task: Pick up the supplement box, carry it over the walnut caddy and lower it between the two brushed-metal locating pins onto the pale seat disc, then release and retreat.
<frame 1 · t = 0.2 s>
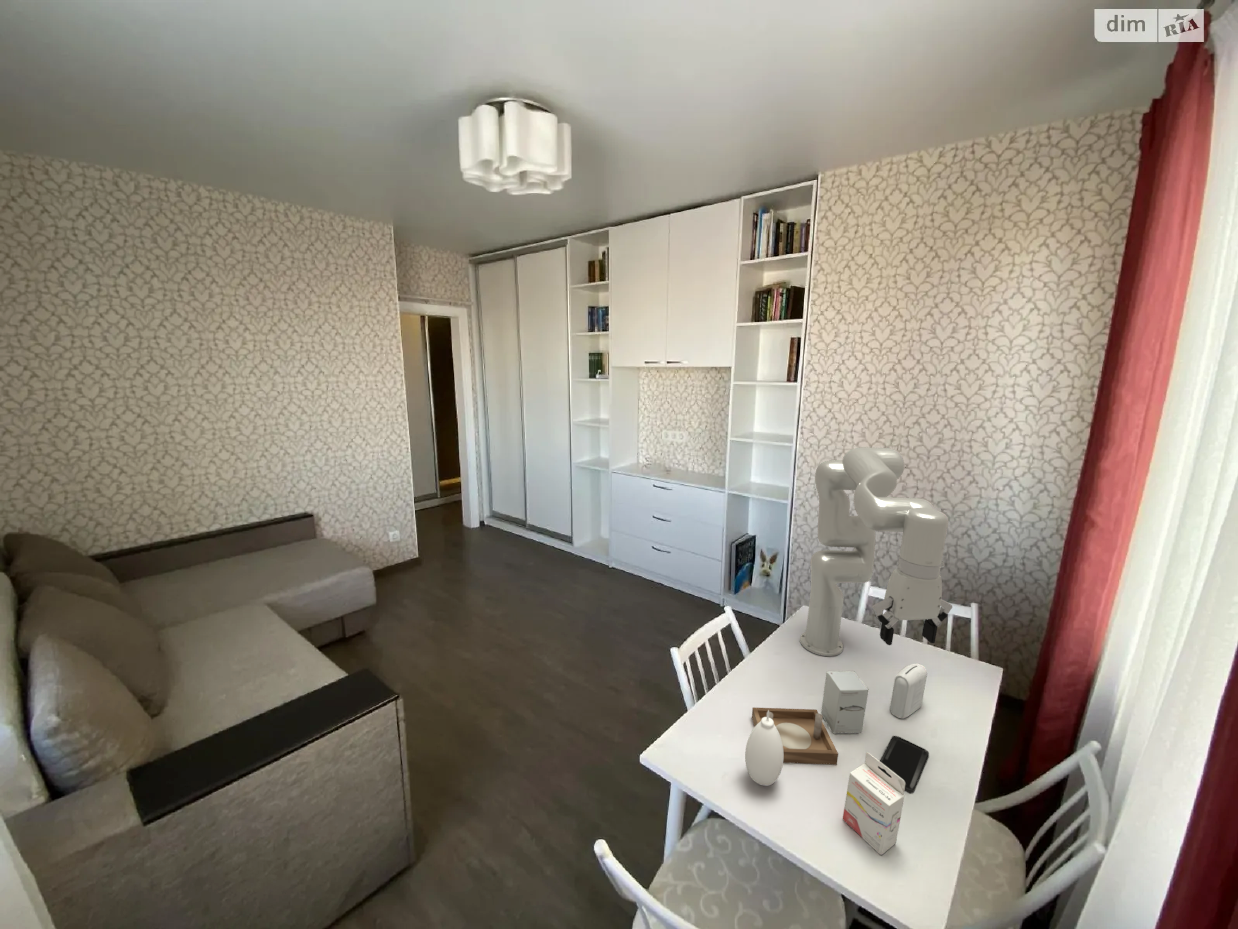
hand: (906, 640, 109), 30 cm above the table, fingers open, 9 cm apart
phone: (901, 765, 114), on the table
ink cartridge box: (868, 832, 98), on the table
supplement box: (840, 724, 126), on the table
caddy: (791, 739, 121), on the table
air blower bulb: (761, 781, 110), on the table
white rounded block: (905, 709, 132), on the table
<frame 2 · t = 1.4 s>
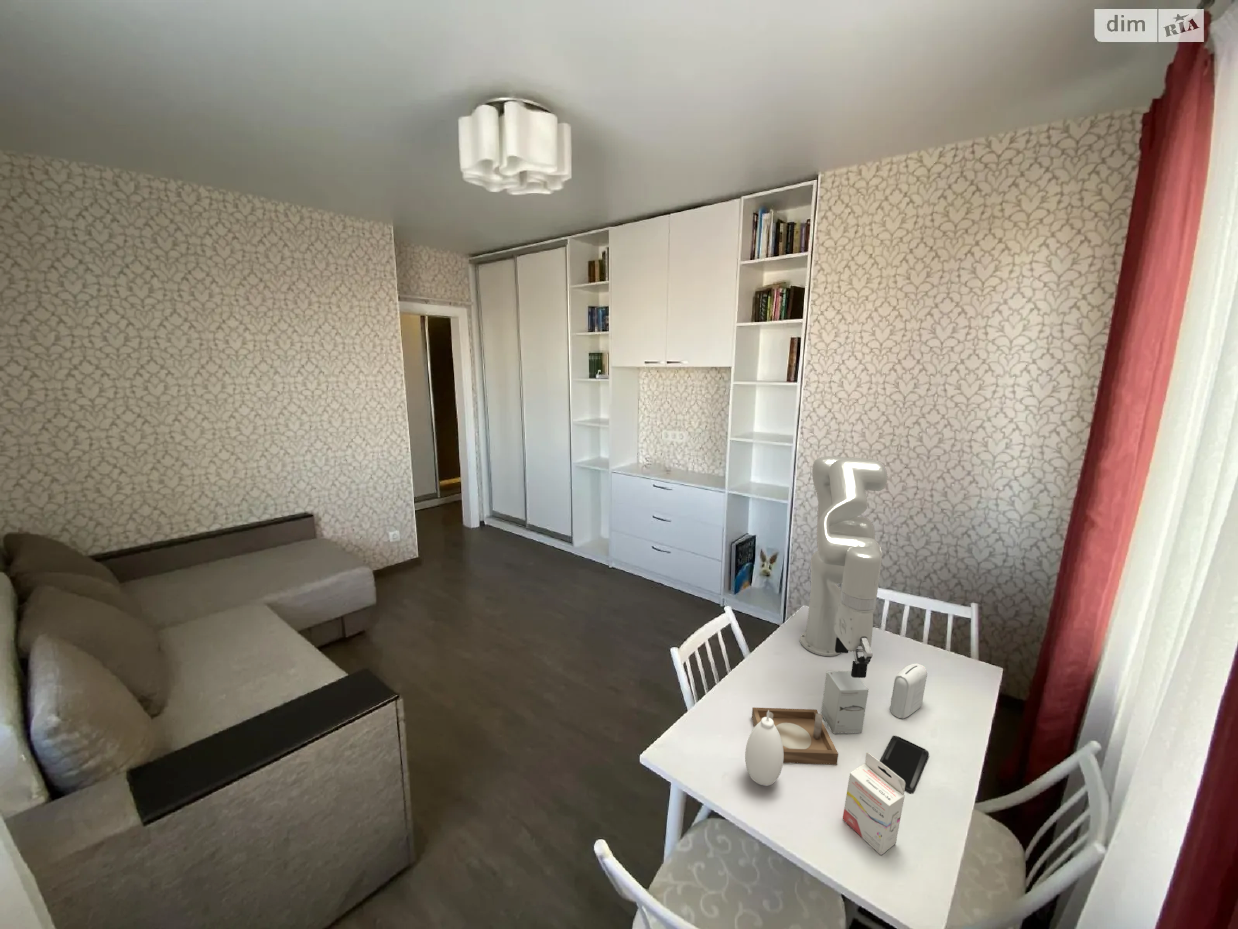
hand: (849, 664, 122), 17 cm above the table, fingers open, 9 cm apart
nothing on the table moved.
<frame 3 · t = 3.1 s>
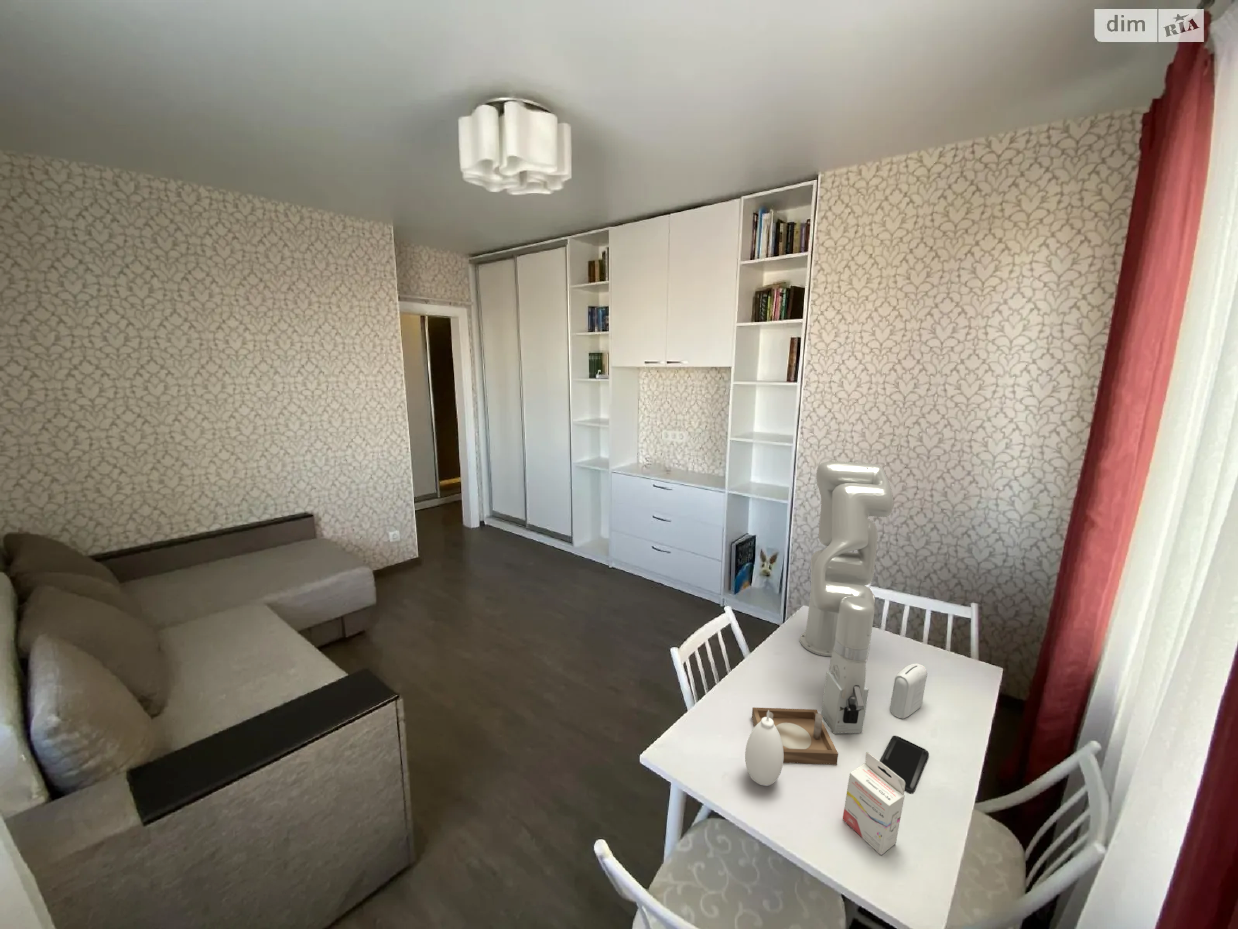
hand: (842, 710, 125), 4 cm above the table, fingers closed on supplement box, 7 cm apart
supplement box: (841, 724, 126), on the table, touching gripper
everything else where it was.
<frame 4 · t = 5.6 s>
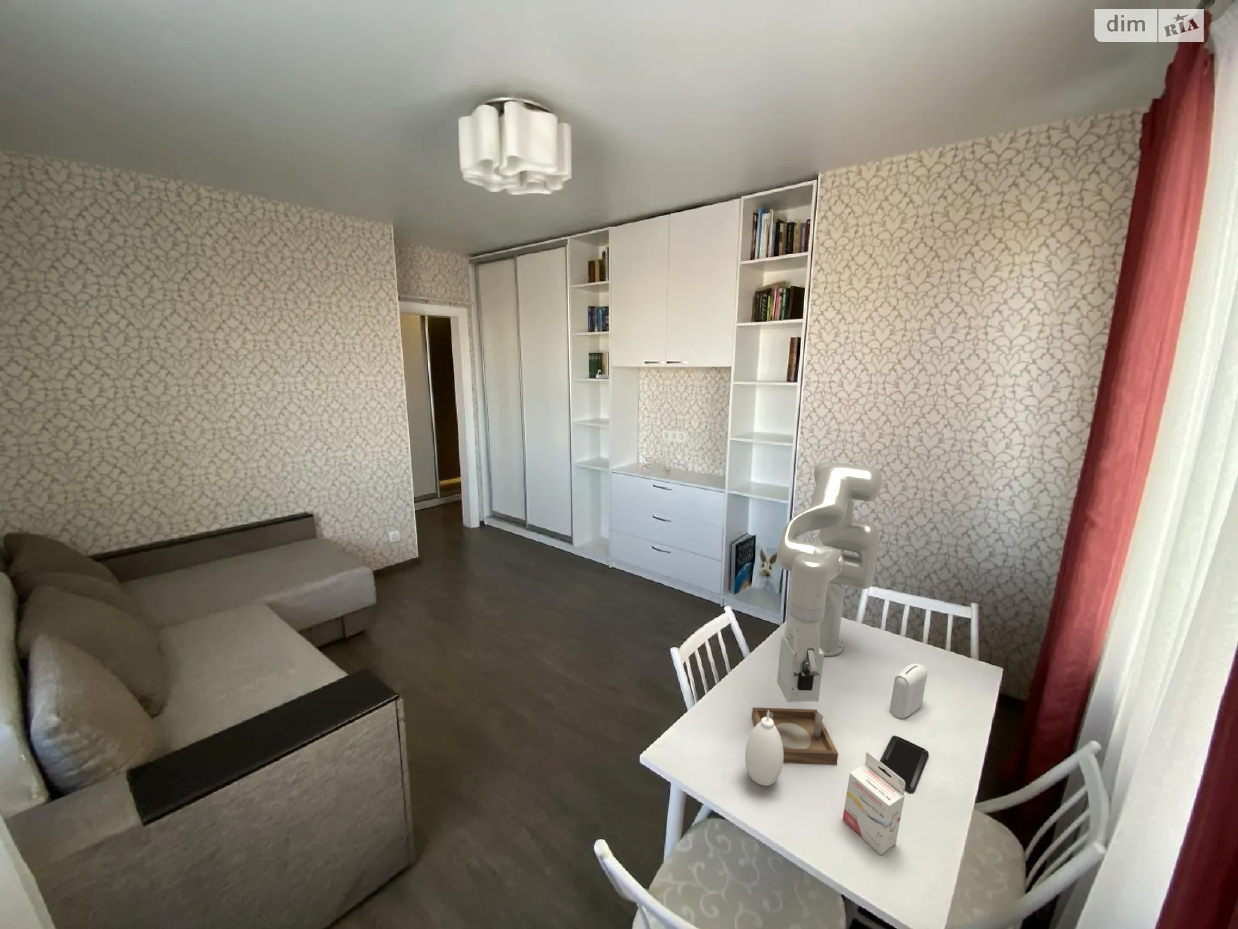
hand: (798, 677, 117), 17 cm above the table, fingers closed on supplement box, 7 cm apart
supplement box: (797, 692, 118), point 13 cm above the table, touching gripper
everything else where it was.
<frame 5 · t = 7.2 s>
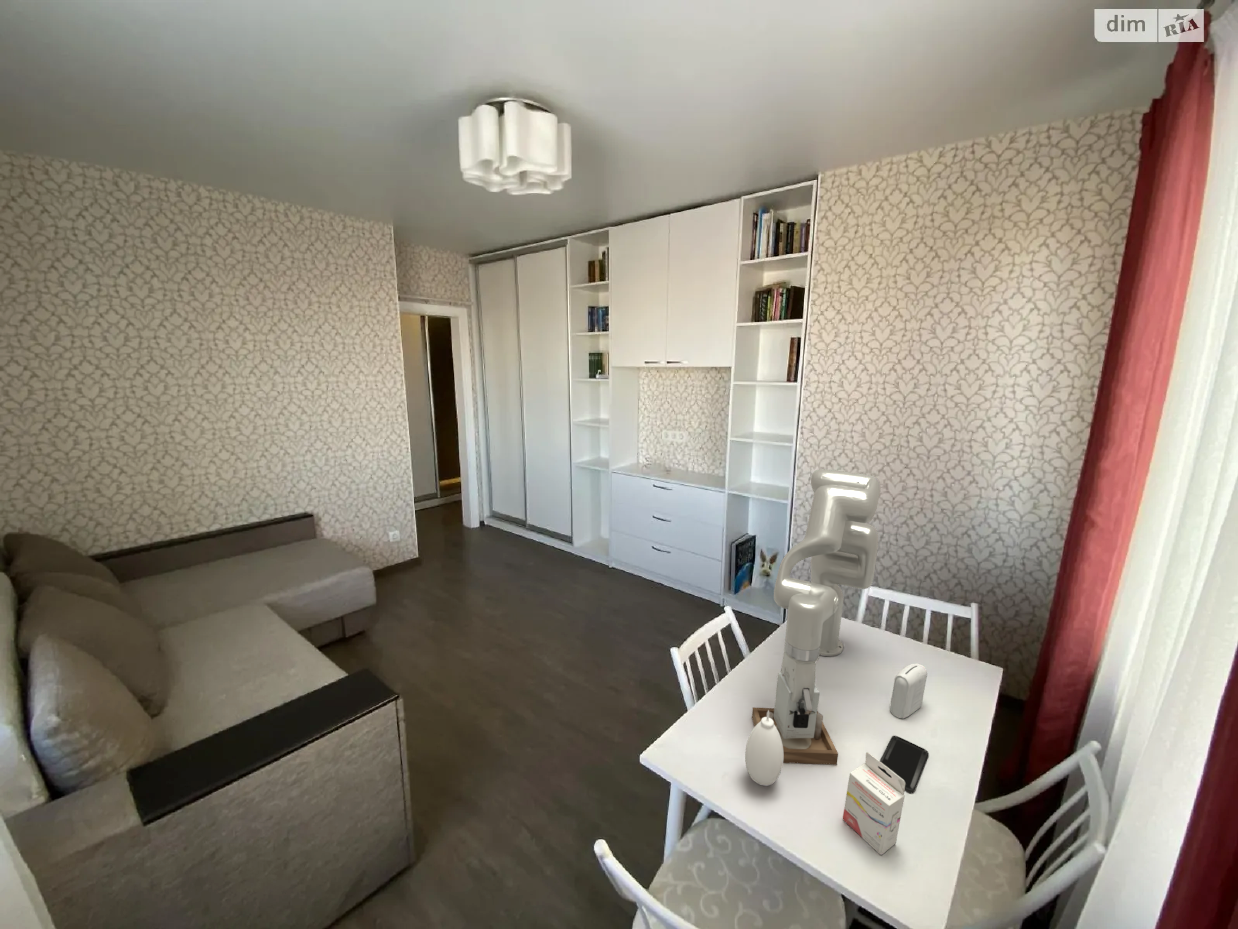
hand: (794, 713, 119), 7 cm above the table, fingers closed on supplement box, 7 cm apart
supplement box: (793, 728, 120), point 3 cm above the table, touching gripper
everything else where it was.
when the fingers open (6 cm above the table, at t = 8.5 s): supplement box drops 1 cm, resting on caddy.
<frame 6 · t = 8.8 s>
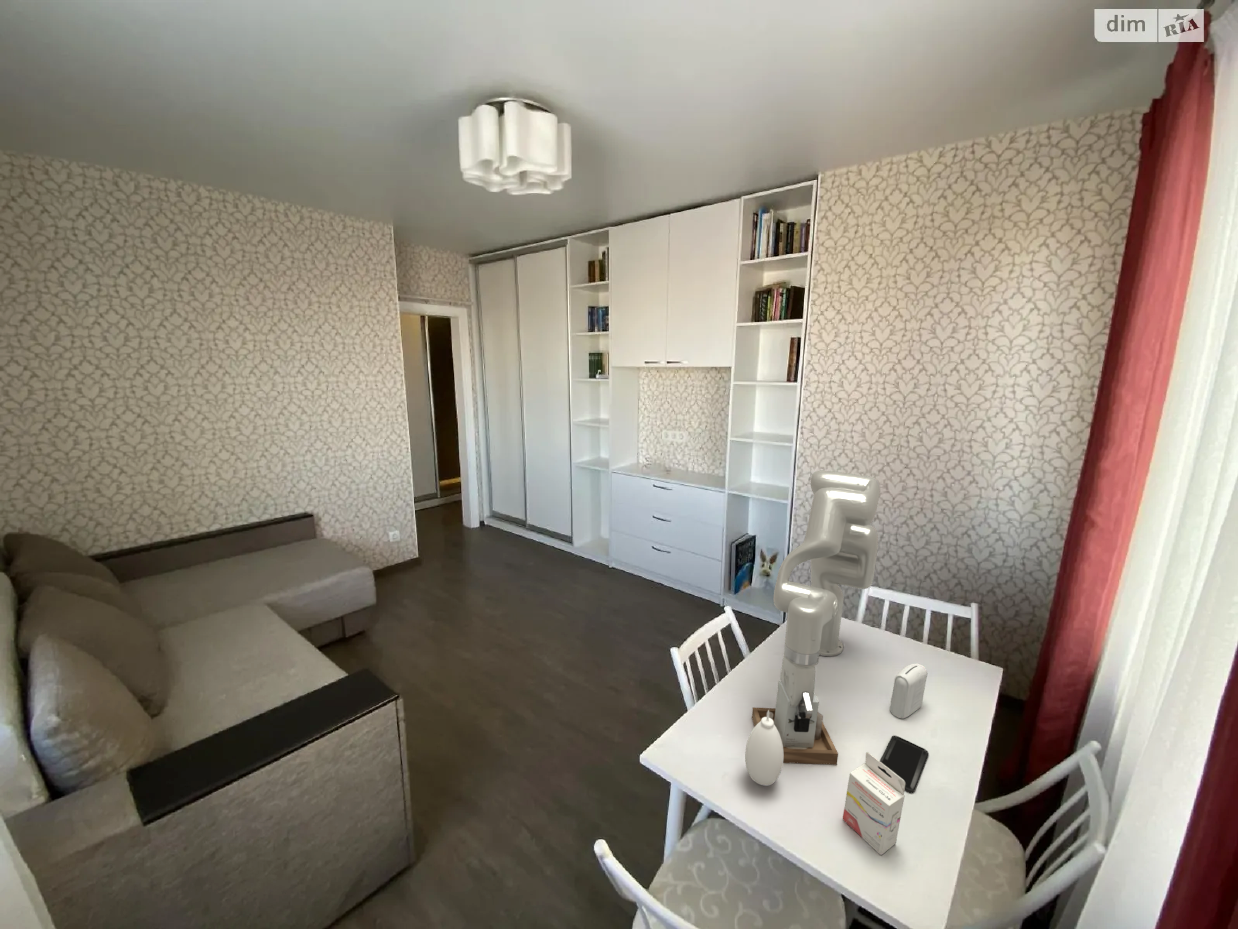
hand: (794, 715, 119), 7 cm above the table, fingers open, 9 cm apart
supplement box: (793, 737, 120), point 1 cm above the table, touching caddy
everything else where it was.
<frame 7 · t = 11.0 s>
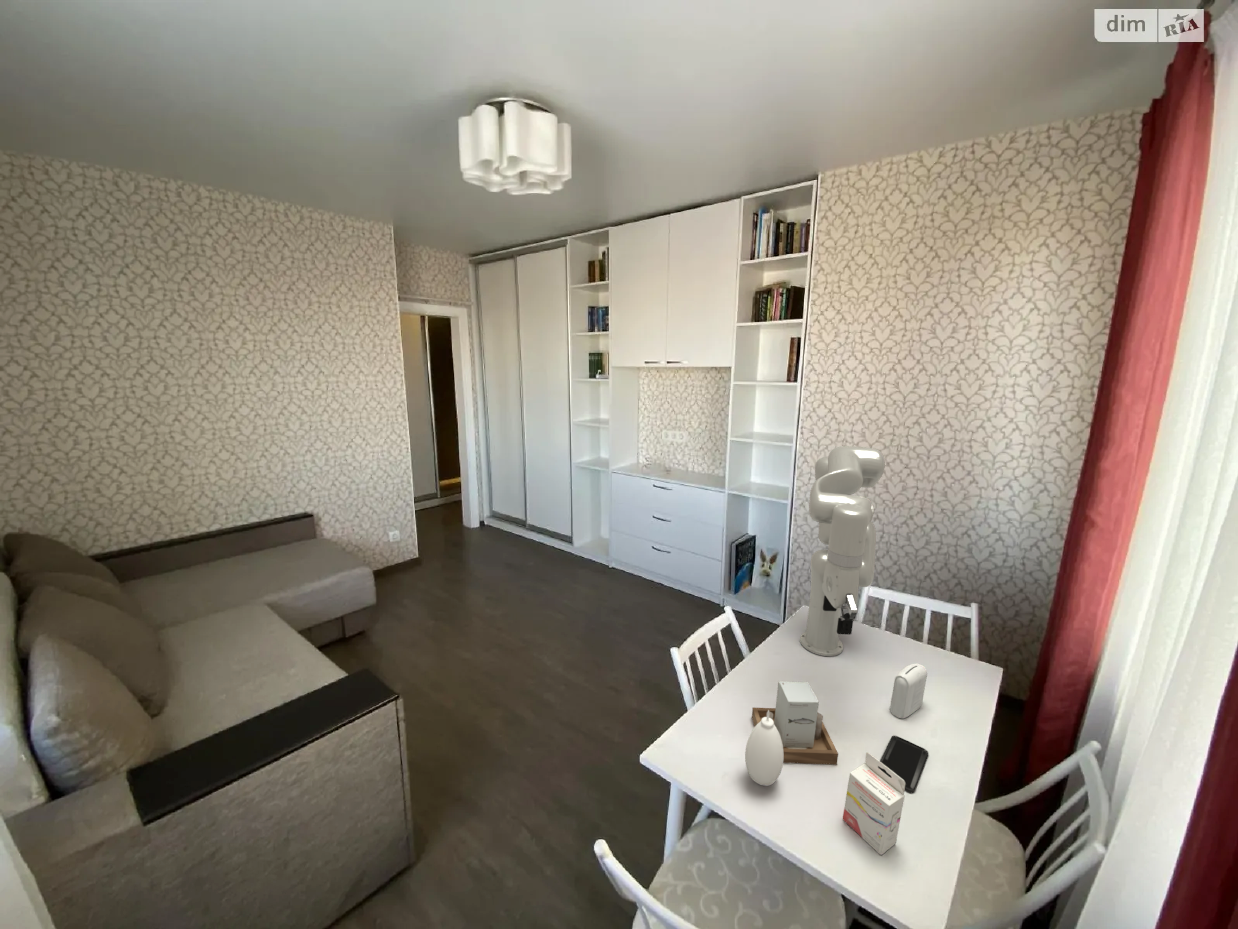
hand: (836, 621, 122), 27 cm above the table, fingers open, 9 cm apart
nothing on the table moved.
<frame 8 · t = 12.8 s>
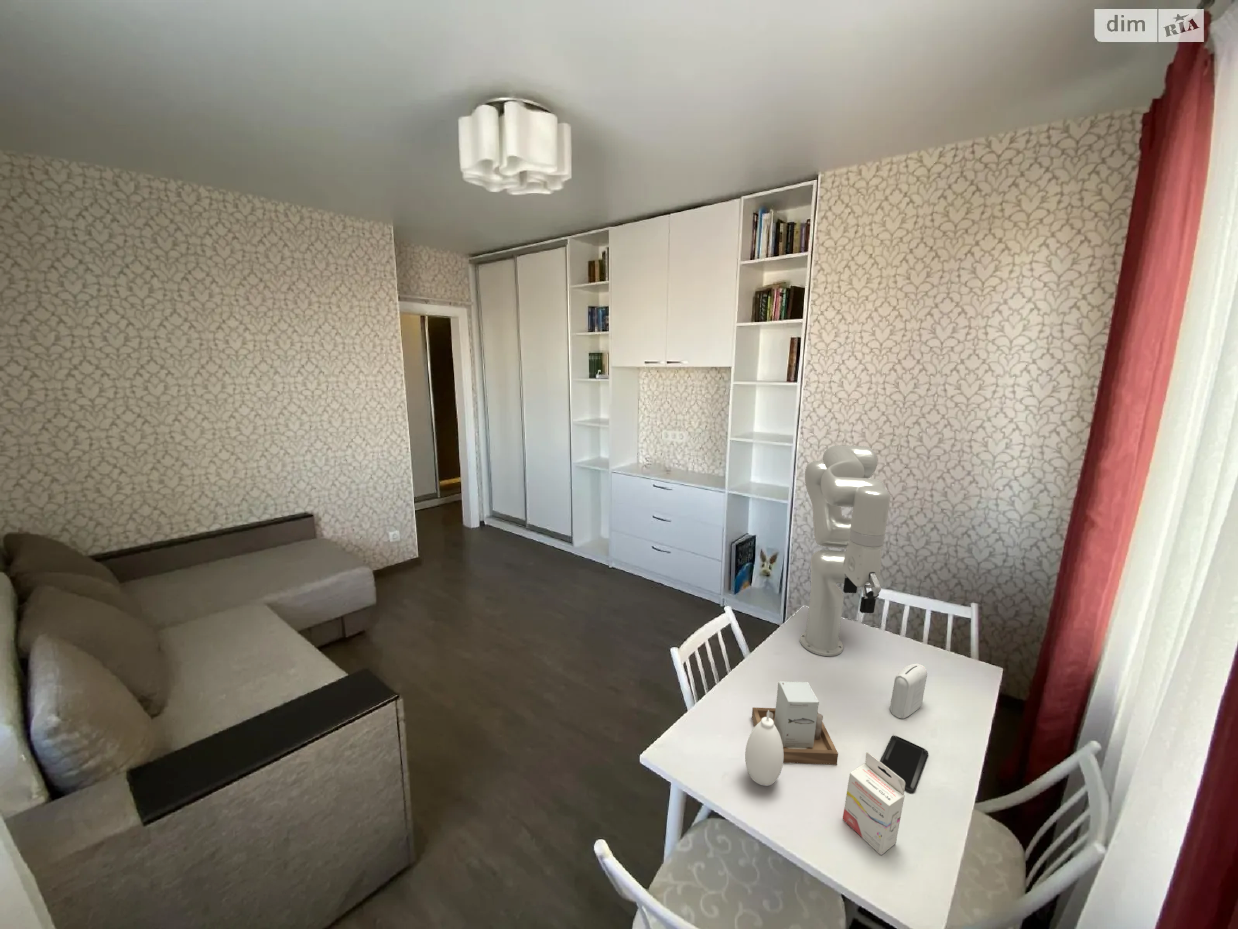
hand: (857, 602, 125), 30 cm above the table, fingers open, 9 cm apart
nothing on the table moved.
at the end: supplement box 0.3 cm off-centre on the caddy, point 0.9 cm above the caddy's base; supplement box tilted 0°; the gripper is holding nothing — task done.
